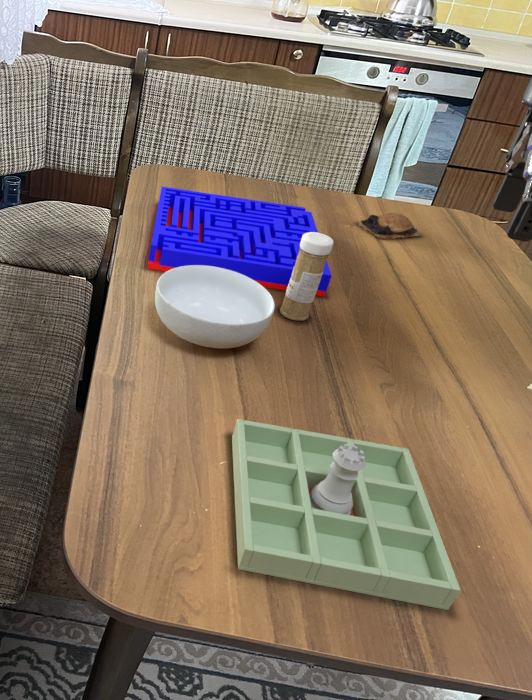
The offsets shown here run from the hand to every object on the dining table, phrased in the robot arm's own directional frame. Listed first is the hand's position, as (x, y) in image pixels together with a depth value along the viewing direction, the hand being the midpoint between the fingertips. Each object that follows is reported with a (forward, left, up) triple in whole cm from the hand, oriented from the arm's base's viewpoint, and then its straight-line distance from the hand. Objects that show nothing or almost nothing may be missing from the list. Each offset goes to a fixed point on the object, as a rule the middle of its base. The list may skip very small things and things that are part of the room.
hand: (509, 223), depth 71 cm
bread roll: (-12, -68, -28) cm, 75 cm away
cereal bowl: (+26, -15, -28) cm, 41 cm away
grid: (+13, +18, -28) cm, 36 cm away
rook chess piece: (+13, +18, -28) cm, 35 cm away
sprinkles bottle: (+12, -25, -28) cm, 40 cm away
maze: (+21, -48, -28) cm, 60 cm away
